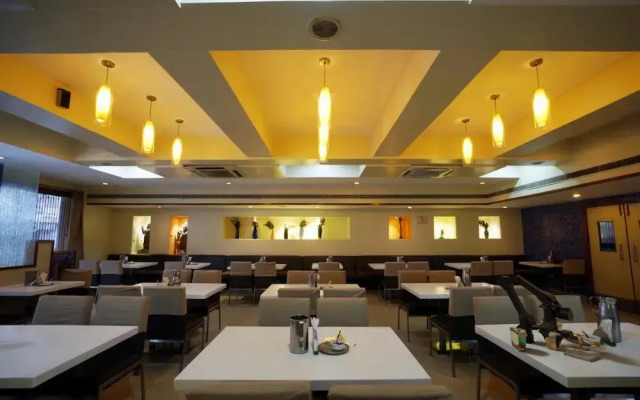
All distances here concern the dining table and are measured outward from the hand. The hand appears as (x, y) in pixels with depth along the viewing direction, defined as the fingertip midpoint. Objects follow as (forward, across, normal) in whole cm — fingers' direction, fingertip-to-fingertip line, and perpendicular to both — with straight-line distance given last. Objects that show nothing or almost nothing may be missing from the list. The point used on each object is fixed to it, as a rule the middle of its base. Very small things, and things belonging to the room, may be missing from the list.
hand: (553, 346), depth 170 cm
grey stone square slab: (+1, +13, 0) cm, 13 cm away
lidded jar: (+1, -13, +27) cm, 30 cm away
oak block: (+1, 0, 0) cm, 1 cm away
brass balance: (+1, +7, +14) cm, 16 cm away
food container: (+1, -8, -16) cm, 18 cm away
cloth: (+2, -67, -98) cm, 118 cm away
